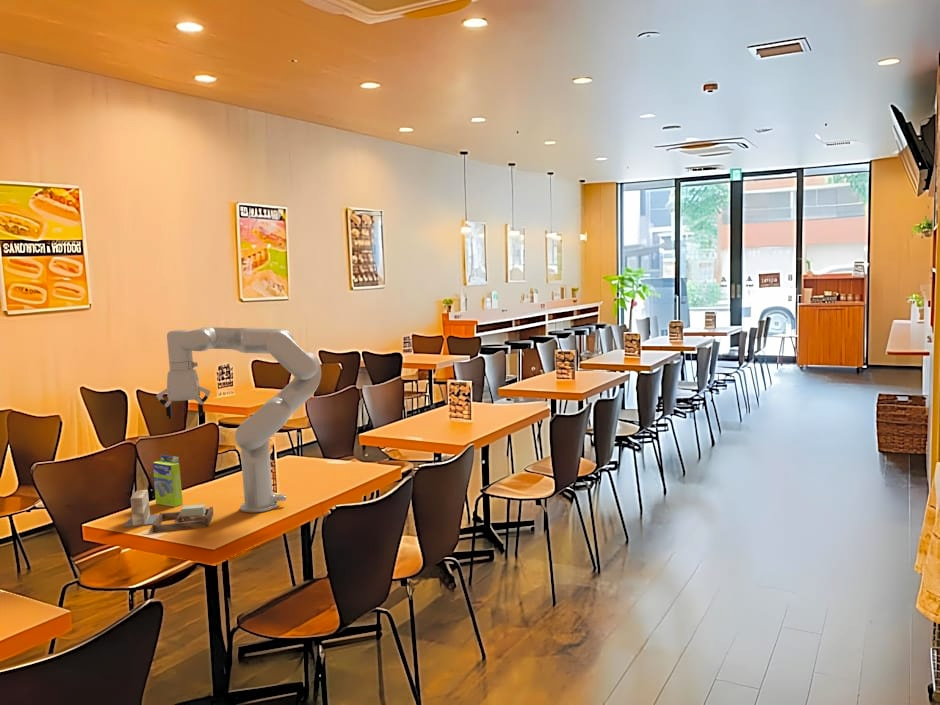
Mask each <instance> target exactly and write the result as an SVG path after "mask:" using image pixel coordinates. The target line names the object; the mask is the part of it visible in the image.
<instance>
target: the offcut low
mask: <svg viewBox="0 0 940 705" xmlns="http://www.w3.org/2000/svg"><path fill="white" fill-rule="evenodd" d="M205 517H206V515H205V514H204V515H196V516H184V518H183V522H189V521H198V520H205Z"/></svg>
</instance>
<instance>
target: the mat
mask: <svg viewBox="0 0 940 705" xmlns="http://www.w3.org/2000/svg"><path fill="white" fill-rule="evenodd" d="M158 516H159V514H150V516H149V518H148V519H147V521H146V522H145V524H142V525H133V521H132V516H131V517H129V518H128V520H127V521H126V523H125V524H124V525H123V528H132V527H143V526H150V525H151V526H153V524H154V523H155V521H156V519H157V518H158Z"/></svg>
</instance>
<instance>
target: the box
mask: <svg viewBox="0 0 940 705" xmlns="http://www.w3.org/2000/svg"><path fill="white" fill-rule="evenodd" d="M170 459H171V460H170ZM152 470H153V482H154V483H153V484H154V485H153V486H154V497H155V504H156V505H161V506H167V507H172V508H176V507H179V506H182V505H183V504H184V502H183V493H182V492H183V491H182V490H183V489H182V481H181V480H182V479H181V470H180V458H179V456H172V455H165V454H160V460H158V461H153V462H152Z"/></svg>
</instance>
